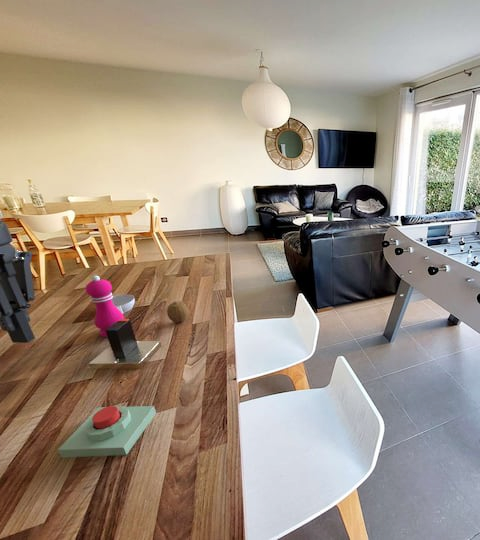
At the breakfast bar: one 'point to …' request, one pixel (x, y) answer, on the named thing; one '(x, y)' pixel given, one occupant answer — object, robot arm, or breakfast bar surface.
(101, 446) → the block
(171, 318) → the fruit
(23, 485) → the breakfast bar surface
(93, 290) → the pepper mill
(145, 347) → the shiny metal plate
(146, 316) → the breakfast bar surface
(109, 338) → the black rectangular block
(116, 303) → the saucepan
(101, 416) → the button
